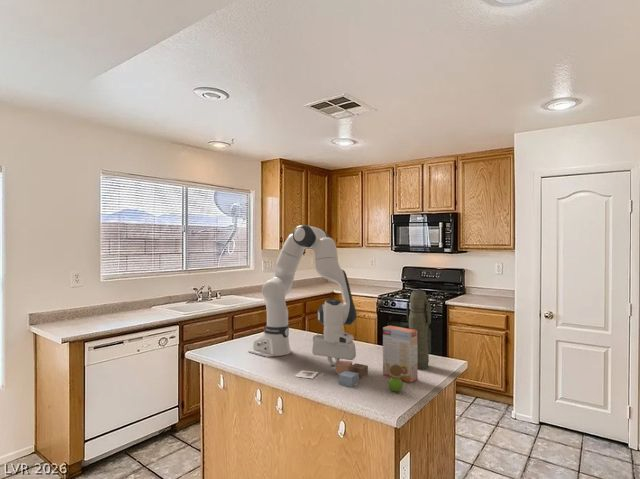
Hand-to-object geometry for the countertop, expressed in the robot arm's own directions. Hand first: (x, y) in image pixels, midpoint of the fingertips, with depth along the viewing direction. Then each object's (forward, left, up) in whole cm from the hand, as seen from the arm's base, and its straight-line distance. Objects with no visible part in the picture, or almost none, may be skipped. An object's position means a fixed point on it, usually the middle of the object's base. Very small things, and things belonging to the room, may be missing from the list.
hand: (333, 367), depth 173 cm
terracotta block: (+5, +1, -2) cm, 5 cm away
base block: (+12, 0, -2) cm, 12 cm away
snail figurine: (+31, -11, -2) cm, 33 cm away
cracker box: (+29, +5, -2) cm, 29 cm away
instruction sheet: (-8, -10, -2) cm, 13 cm away
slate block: (+12, -11, -2) cm, 16 cm away
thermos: (+33, +23, -2) cm, 40 cm away
